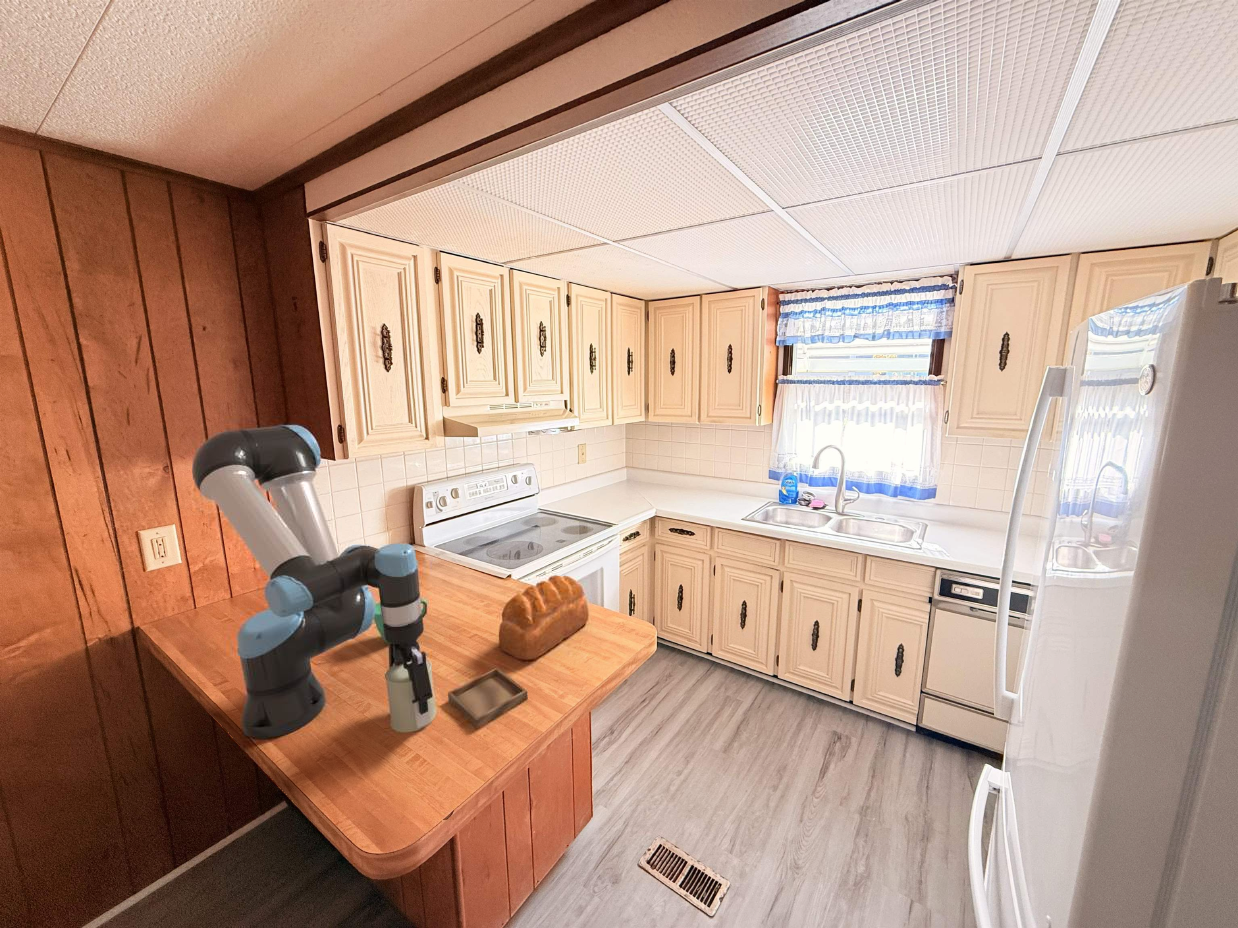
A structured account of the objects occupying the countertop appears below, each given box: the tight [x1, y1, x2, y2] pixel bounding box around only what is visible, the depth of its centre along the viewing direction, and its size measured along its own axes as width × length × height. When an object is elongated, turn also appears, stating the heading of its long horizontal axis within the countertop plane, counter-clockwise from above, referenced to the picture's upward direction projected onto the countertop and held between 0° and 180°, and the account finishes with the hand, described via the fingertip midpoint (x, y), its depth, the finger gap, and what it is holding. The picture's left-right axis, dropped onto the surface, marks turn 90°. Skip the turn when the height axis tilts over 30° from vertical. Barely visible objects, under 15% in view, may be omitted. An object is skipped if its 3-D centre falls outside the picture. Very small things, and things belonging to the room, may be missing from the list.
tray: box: [447, 667, 528, 730], centre depth 109 cm, size 13×13×2 cm
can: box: [384, 658, 438, 734], centre depth 103 cm, size 9×9×12 cm
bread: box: [498, 574, 590, 661], centre depth 135 cm, size 14×26×16 cm, turn 145°
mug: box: [373, 597, 428, 644], centre depth 136 cm, size 15×10×10 cm
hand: (413, 713), depth 104 cm, fingers closed on can, 9 cm apart
